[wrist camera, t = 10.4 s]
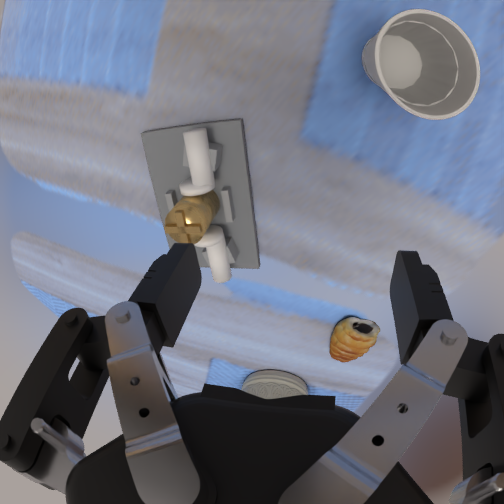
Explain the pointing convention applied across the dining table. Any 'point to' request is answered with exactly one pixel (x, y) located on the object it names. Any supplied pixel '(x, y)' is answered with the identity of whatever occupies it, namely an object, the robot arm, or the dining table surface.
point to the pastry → (352, 338)
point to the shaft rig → (208, 188)
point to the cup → (424, 64)
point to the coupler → (192, 217)
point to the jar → (274, 384)
